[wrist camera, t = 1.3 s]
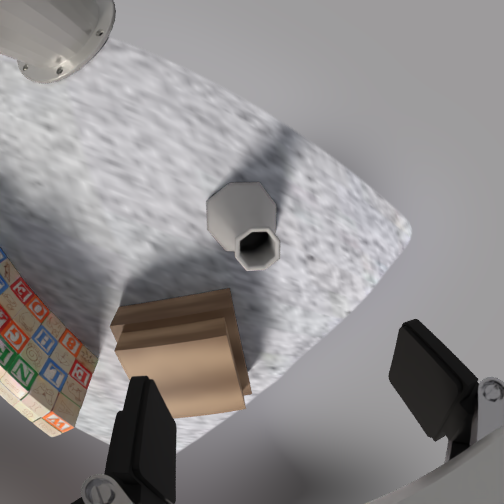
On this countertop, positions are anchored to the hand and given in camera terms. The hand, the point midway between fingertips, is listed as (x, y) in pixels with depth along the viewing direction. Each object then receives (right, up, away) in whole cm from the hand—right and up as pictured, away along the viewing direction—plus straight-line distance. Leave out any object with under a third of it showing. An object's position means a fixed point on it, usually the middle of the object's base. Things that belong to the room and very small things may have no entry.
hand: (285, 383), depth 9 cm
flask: (-2, +8, +19) cm, 21 cm away
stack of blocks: (-30, -3, +19) cm, 36 cm away
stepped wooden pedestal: (-9, -6, +23) cm, 26 cm away
